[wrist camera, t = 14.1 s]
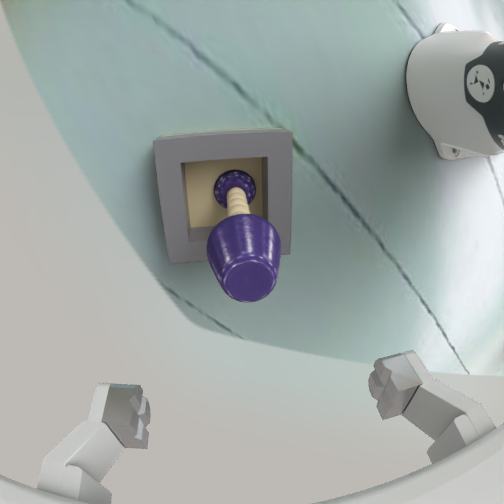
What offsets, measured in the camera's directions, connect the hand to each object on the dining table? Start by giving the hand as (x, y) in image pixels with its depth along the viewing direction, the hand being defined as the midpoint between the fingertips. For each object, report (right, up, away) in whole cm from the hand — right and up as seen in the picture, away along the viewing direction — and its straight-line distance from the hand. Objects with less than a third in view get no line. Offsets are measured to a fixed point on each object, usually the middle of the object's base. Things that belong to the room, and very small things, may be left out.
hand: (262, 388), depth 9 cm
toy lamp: (-2, +11, +21) cm, 24 cm away
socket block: (-3, +11, +22) cm, 25 cm away
